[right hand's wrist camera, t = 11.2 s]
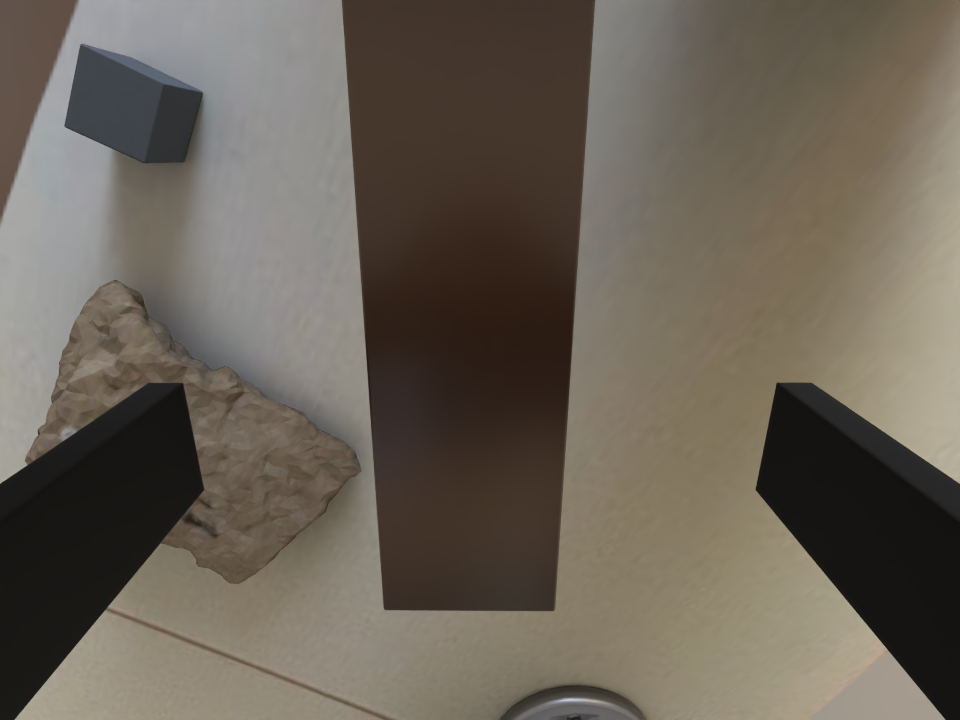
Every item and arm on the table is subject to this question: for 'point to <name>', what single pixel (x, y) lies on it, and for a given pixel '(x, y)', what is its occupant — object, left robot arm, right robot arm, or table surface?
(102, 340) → the stone
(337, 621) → the table surface
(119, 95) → the slate cube
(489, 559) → the walnut bar
